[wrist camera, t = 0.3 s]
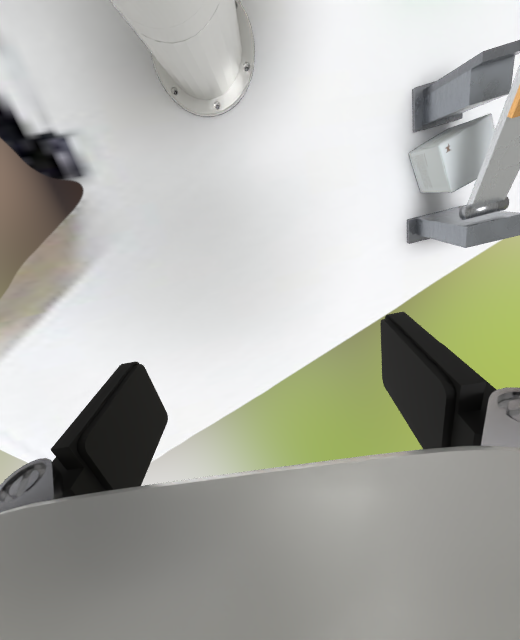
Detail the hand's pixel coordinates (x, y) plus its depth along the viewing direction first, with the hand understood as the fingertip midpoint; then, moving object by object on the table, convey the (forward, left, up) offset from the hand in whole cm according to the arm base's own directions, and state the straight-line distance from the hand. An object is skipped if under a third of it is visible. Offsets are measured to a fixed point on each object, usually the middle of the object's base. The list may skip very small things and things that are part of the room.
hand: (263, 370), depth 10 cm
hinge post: (+4, +26, -36) cm, 45 cm away
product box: (-4, +26, -36) cm, 45 cm away
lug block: (-10, +26, -36) cm, 45 cm away
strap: (-4, +26, -24) cm, 36 cm away
